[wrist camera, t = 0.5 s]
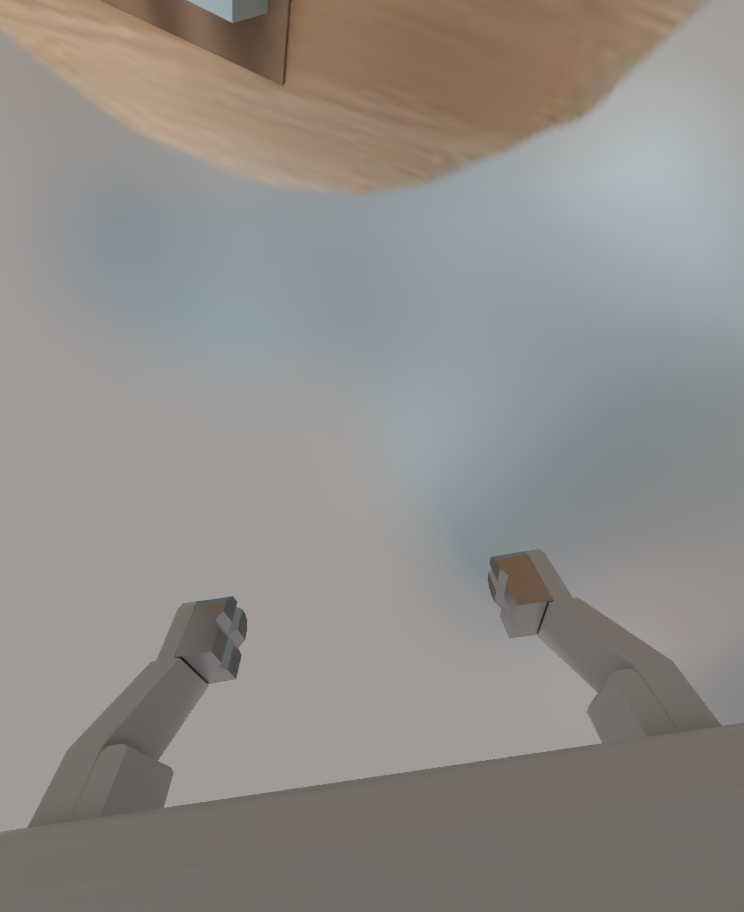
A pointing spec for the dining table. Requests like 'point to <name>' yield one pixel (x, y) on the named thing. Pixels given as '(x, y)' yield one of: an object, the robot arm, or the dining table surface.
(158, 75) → the dining table surface
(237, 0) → the light blue box
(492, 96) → the dining table surface
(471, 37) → the dining table surface
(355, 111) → the dining table surface
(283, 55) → the board
